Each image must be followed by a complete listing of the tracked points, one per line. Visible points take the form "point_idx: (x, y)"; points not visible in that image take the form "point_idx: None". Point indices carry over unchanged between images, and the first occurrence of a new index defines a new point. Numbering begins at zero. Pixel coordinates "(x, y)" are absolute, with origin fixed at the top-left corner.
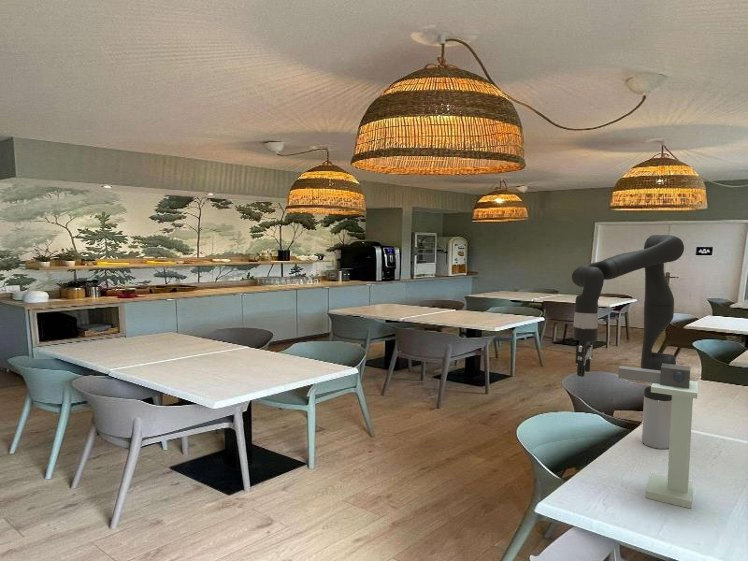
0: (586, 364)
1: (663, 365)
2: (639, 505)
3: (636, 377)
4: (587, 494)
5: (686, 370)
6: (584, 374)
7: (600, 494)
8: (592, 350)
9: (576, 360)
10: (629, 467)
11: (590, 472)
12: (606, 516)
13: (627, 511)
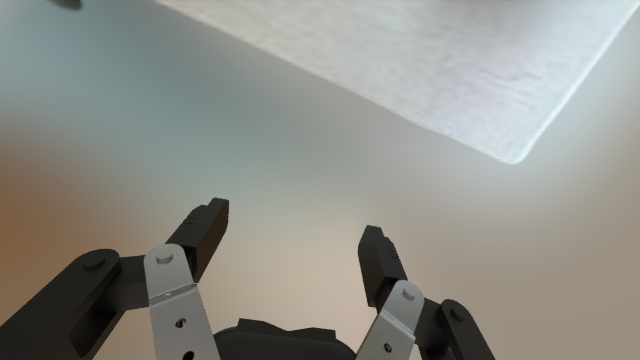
0: (210, 243)
1: None
2: (522, 6)
3: None
4: (480, 105)
5: None
6: (373, 230)
7: (479, 82)
8: (12, 322)
9: (451, 358)
10: (336, 6)
11: (387, 97)
12: (558, 76)
13: (544, 35)
